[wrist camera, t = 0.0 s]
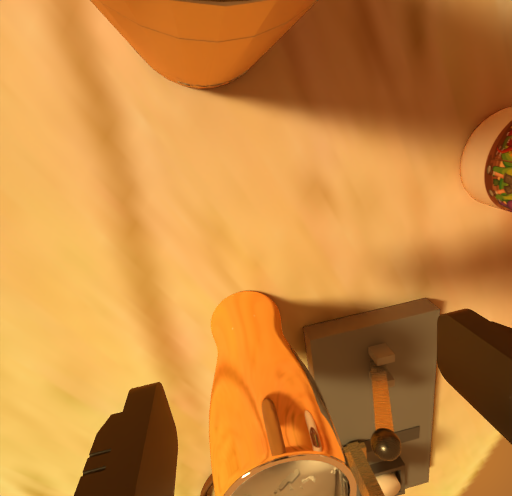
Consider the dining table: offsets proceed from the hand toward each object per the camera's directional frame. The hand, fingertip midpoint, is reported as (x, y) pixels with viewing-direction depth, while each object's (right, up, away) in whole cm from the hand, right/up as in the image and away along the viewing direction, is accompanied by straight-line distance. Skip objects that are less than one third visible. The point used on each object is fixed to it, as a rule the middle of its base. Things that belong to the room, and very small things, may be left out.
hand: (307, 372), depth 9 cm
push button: (+12, -22, +27) cm, 37 cm away
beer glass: (-2, -3, +20) cm, 20 cm away
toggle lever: (+10, -7, +21) cm, 24 cm away
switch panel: (+11, -13, +26) cm, 31 cm away
